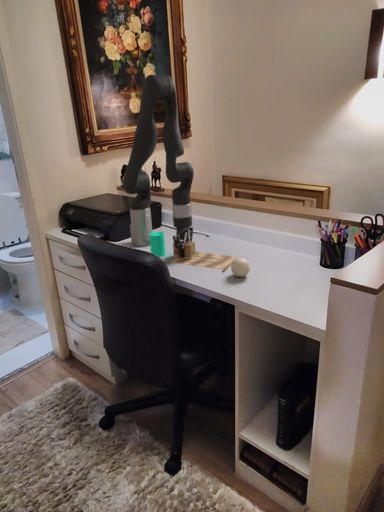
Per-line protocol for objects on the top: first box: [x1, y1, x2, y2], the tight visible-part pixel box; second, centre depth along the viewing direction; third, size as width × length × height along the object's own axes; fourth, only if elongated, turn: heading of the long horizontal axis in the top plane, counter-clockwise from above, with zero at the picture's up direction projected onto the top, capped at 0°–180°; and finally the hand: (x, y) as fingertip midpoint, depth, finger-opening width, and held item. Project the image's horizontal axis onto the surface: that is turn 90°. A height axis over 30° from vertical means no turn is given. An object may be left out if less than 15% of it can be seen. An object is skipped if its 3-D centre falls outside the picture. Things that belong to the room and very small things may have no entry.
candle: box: [149, 229, 166, 258], centre depth 160 cm, size 6×6×12 cm
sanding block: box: [172, 241, 196, 260], centre depth 156 cm, size 8×4×6 cm, turn 64°
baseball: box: [230, 257, 251, 278], centre depth 138 cm, size 7×7×7 cm
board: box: [168, 251, 238, 273], centre depth 154 cm, size 24×14×1 cm, turn 64°
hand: (184, 254), depth 157 cm, fingers closed on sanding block, 4 cm apart
